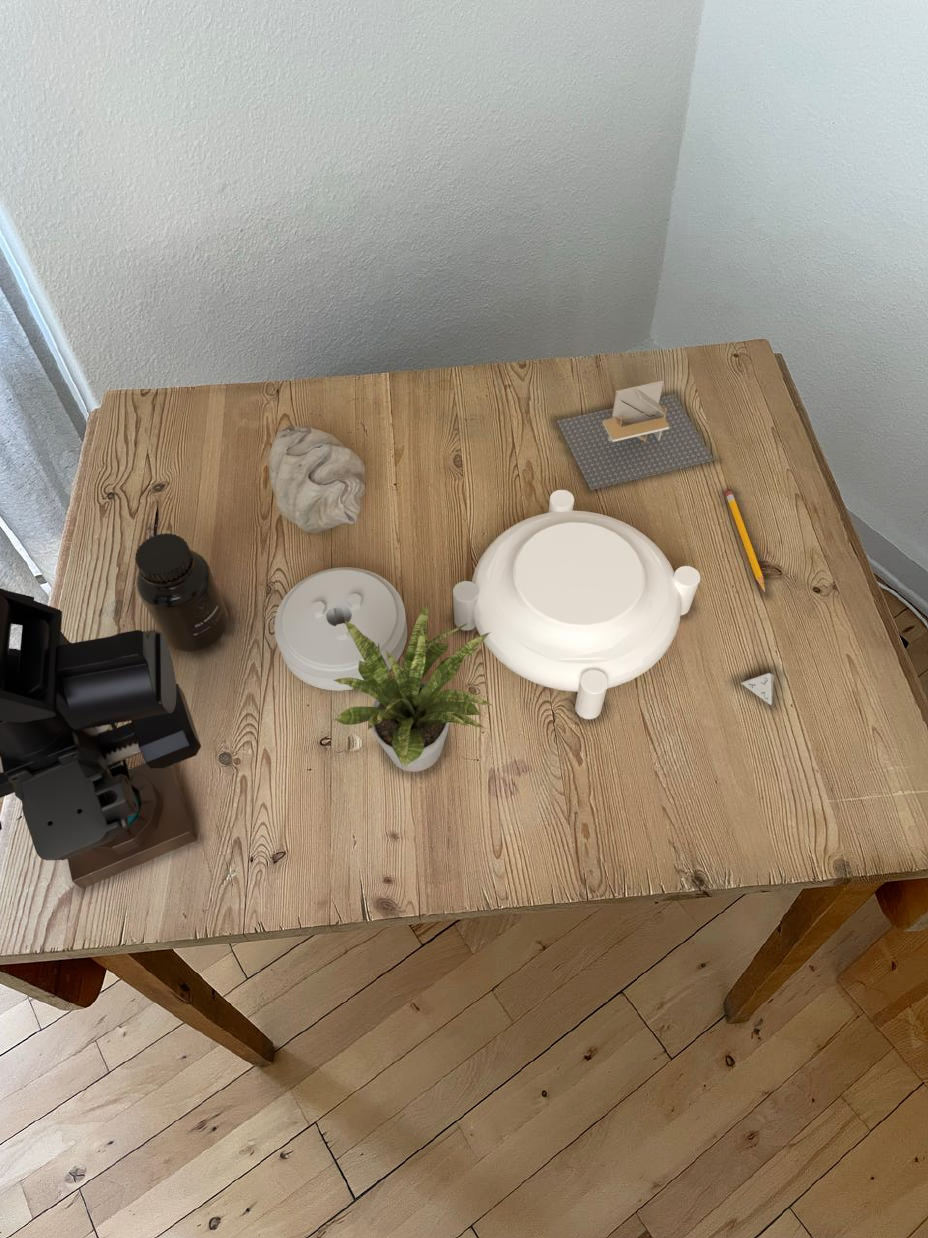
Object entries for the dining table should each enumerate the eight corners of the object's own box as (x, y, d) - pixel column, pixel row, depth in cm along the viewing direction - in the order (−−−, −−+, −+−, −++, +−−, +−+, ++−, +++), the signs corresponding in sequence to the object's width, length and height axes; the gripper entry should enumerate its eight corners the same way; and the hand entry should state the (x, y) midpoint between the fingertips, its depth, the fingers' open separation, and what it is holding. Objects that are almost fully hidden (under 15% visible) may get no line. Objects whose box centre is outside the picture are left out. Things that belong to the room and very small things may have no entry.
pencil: (731, 494, 97) (733, 490, 96) (767, 593, 89) (769, 589, 89) (724, 495, 97) (726, 491, 96) (760, 594, 89) (762, 590, 89)
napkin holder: (665, 449, 100) (677, 400, 94) (608, 462, 99) (617, 414, 93) (653, 429, 102) (664, 380, 96) (598, 441, 101) (605, 393, 95)
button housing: (82, 889, 74) (63, 875, 71) (64, 807, 78) (45, 791, 75) (196, 840, 76) (183, 824, 73) (173, 763, 80) (160, 745, 77)
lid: (273, 602, 90) (263, 573, 85) (393, 576, 91) (389, 547, 87) (291, 708, 83) (280, 683, 79) (420, 678, 84) (417, 652, 80)
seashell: (280, 567, 92) (260, 506, 84) (276, 463, 100) (257, 398, 92) (376, 555, 93) (366, 493, 84) (365, 453, 101) (354, 387, 92)
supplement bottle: (224, 655, 86) (190, 585, 76) (156, 654, 86) (113, 584, 76) (235, 597, 90) (205, 524, 80) (170, 597, 90) (131, 523, 80)
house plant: (510, 819, 77) (517, 740, 63) (354, 844, 76) (326, 769, 62) (484, 679, 84) (484, 581, 71) (341, 699, 83) (314, 604, 70)
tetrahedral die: (743, 673, 85) (740, 656, 83) (774, 675, 84) (771, 657, 82) (740, 704, 84) (737, 687, 81) (771, 705, 82) (769, 689, 80)
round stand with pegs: (446, 528, 94) (444, 484, 88) (666, 513, 95) (678, 468, 89) (462, 728, 81) (461, 692, 75) (716, 710, 82) (735, 673, 76)
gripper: (-106, 884, 53) (9, 942, 67) (190, 763, 58) (243, 841, 71) (-122, 734, 59) (-13, 815, 72) (149, 634, 63) (206, 728, 76)
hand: (107, 802), depth 73 cm, fingers closed, pressing on press top
